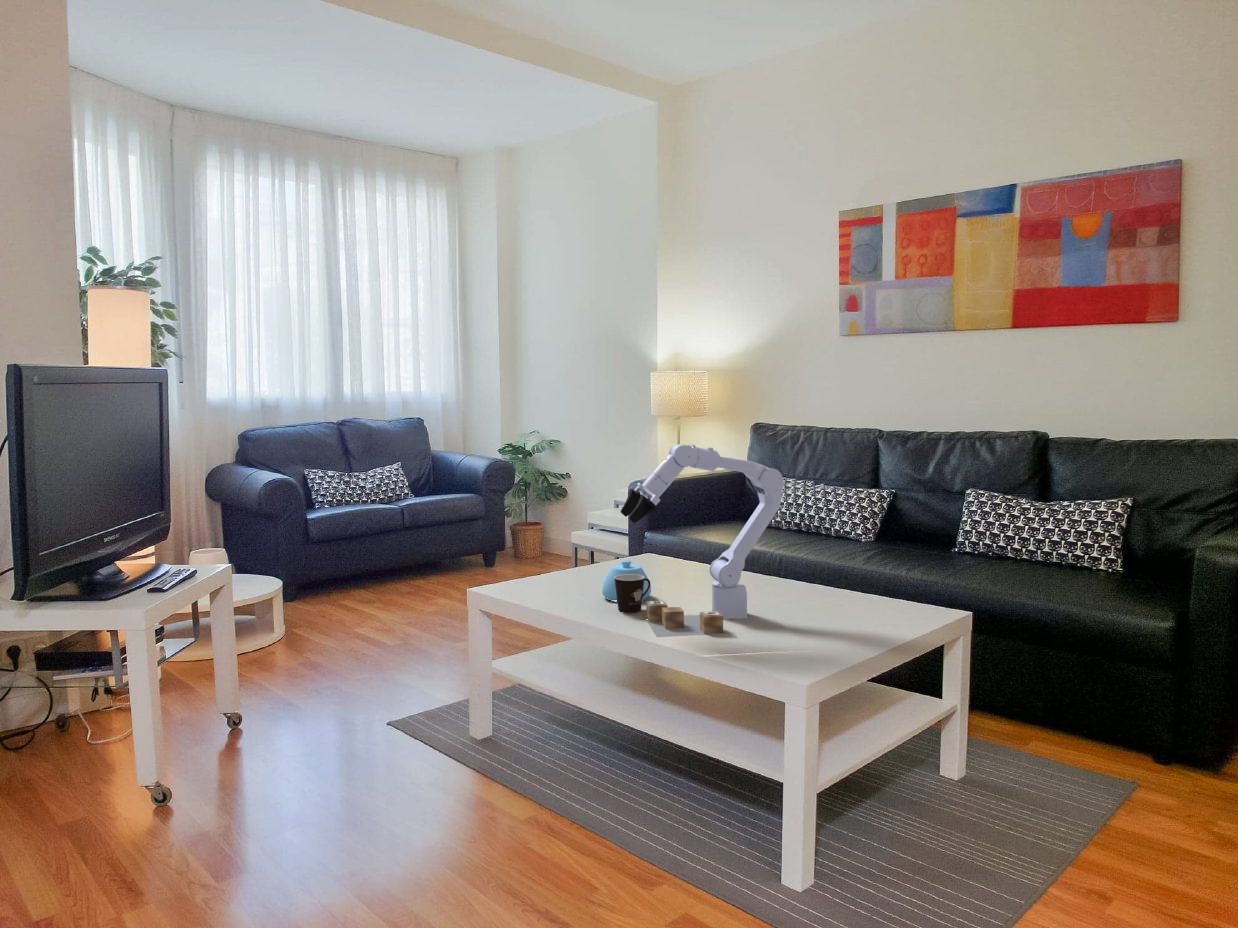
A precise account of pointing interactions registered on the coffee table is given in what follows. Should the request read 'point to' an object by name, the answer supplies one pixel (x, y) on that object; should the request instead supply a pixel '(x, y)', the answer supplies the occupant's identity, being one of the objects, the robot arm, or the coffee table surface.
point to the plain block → (672, 617)
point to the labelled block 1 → (655, 610)
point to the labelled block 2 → (711, 622)
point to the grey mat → (689, 628)
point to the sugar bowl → (623, 569)
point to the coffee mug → (630, 592)
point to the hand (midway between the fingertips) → (627, 517)
